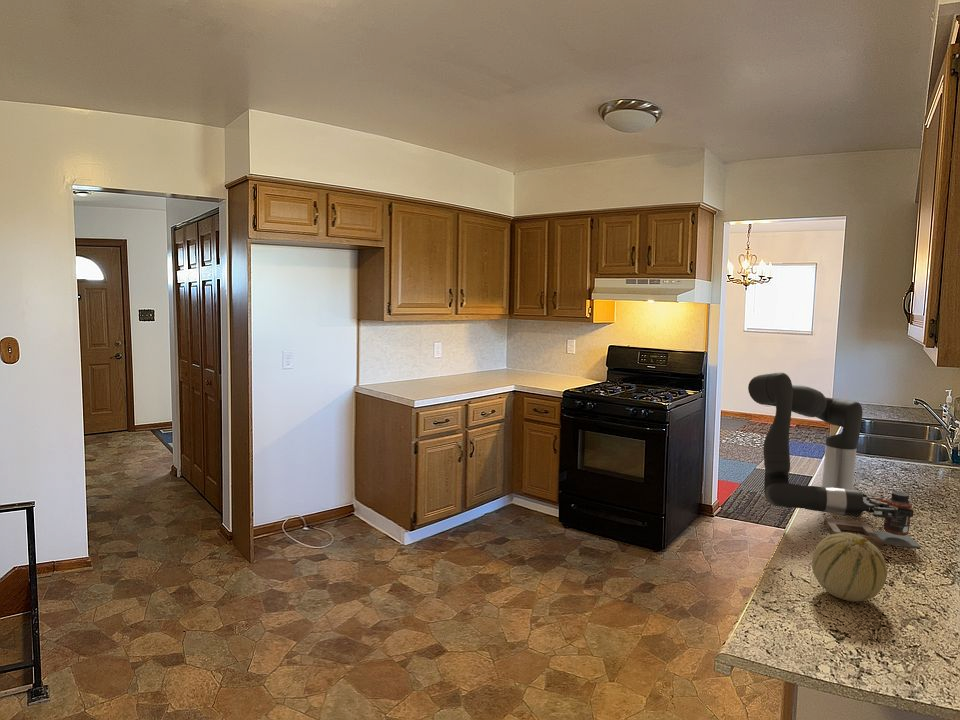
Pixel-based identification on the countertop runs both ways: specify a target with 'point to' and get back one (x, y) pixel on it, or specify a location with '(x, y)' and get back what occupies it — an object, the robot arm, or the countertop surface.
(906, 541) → the rubber mat
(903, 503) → the supplement bottle
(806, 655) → the countertop surface
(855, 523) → the walnut holder
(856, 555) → the cantaloupe
